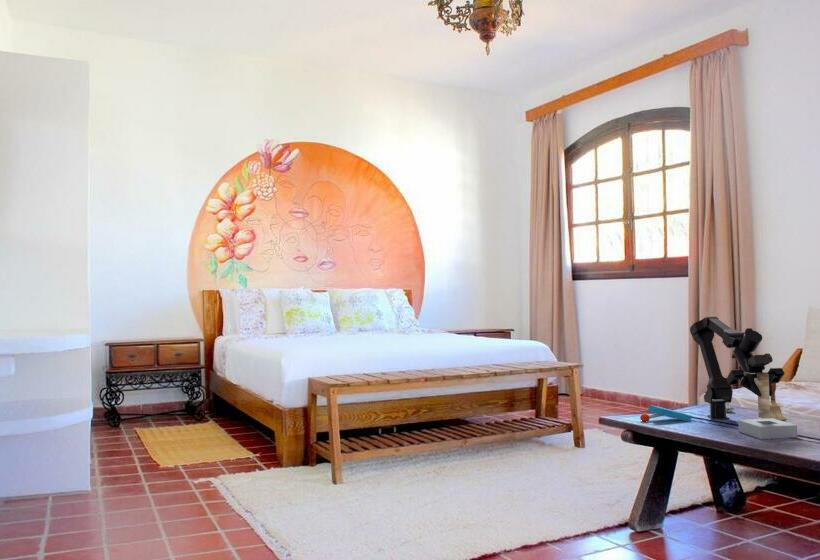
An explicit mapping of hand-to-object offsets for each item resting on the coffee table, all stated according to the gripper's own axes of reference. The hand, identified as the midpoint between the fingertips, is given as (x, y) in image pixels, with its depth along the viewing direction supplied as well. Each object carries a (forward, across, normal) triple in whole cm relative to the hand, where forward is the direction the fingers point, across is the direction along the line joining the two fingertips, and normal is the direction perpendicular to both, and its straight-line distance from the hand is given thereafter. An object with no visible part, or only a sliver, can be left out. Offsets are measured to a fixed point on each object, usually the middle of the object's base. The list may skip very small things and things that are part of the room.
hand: (765, 395), depth 237 cm
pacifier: (-22, +10, +42) cm, 49 cm away
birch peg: (+4, 0, +6) cm, 8 cm away
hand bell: (-9, +19, +29) cm, 36 cm away
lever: (-13, -22, +33) cm, 41 cm away
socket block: (+9, +1, +10) cm, 14 cm away
